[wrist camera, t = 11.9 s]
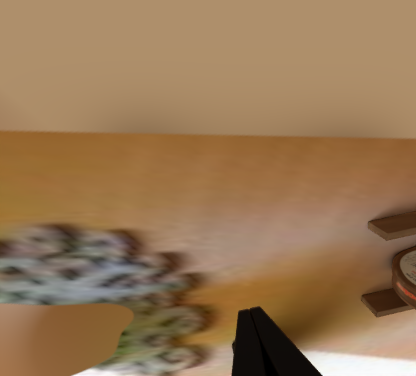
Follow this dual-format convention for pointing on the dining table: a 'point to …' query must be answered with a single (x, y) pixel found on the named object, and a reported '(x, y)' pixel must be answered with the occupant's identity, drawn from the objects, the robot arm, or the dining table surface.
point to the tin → (405, 276)
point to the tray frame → (388, 230)
